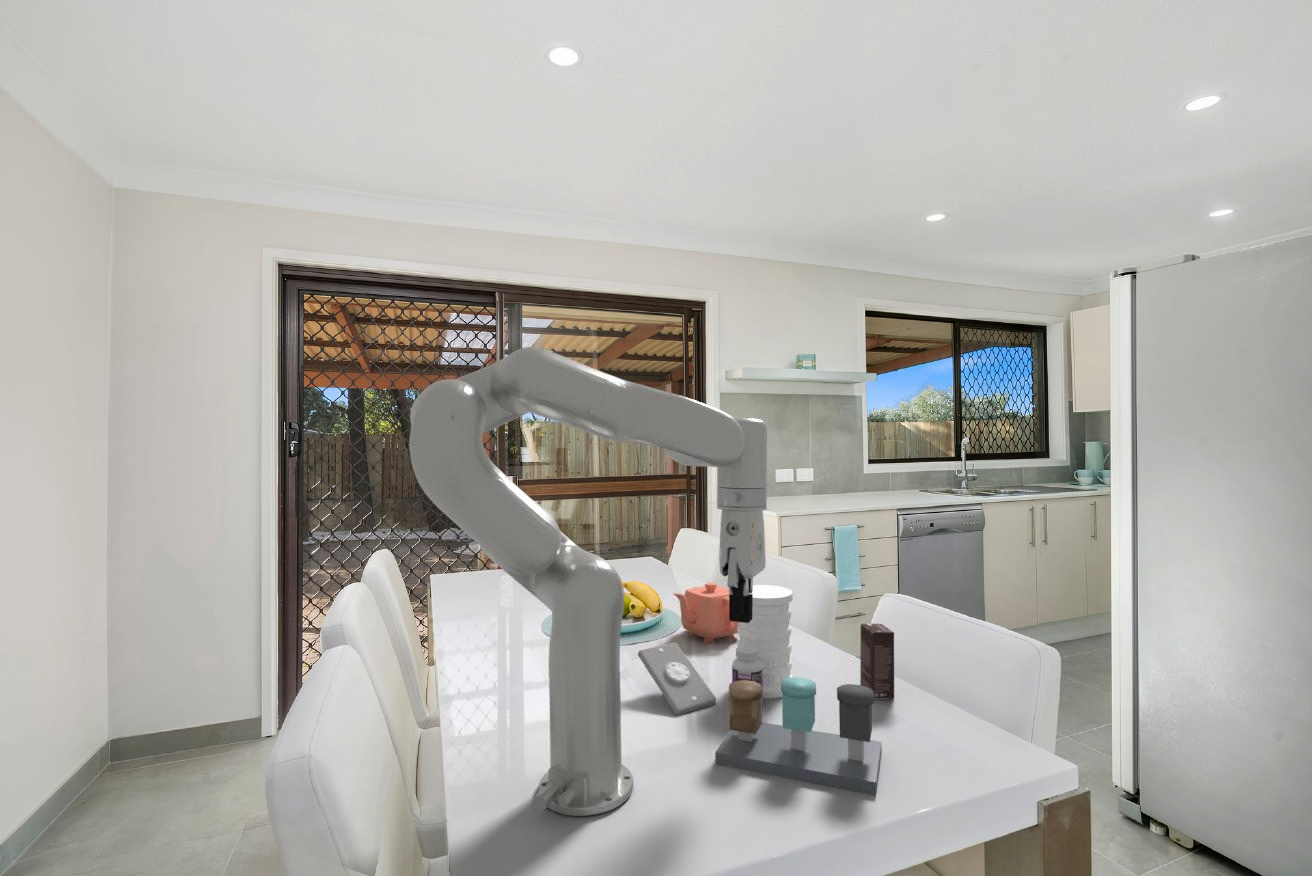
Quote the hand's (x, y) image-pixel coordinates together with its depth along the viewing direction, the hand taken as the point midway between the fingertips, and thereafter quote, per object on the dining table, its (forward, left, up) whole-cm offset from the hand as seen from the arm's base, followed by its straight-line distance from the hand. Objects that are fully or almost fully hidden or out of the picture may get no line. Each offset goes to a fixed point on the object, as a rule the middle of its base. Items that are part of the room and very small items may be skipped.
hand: (740, 620), depth 95 cm
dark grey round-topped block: (0, -16, -15) cm, 22 cm away
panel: (0, -8, -19) cm, 21 cm away
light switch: (+15, +16, -20) cm, 29 cm away
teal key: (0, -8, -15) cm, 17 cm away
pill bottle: (+16, +4, -20) cm, 26 cm away
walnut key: (0, 0, -16) cm, 16 cm away
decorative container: (+25, +3, -20) cm, 32 cm away
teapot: (+51, +22, -20) cm, 59 cm away
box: (+29, -17, -20) cm, 40 cm away
